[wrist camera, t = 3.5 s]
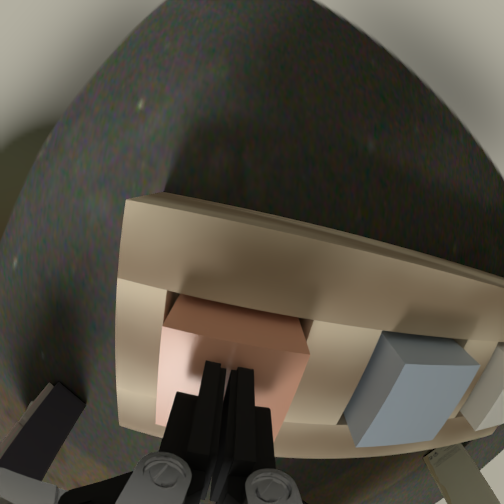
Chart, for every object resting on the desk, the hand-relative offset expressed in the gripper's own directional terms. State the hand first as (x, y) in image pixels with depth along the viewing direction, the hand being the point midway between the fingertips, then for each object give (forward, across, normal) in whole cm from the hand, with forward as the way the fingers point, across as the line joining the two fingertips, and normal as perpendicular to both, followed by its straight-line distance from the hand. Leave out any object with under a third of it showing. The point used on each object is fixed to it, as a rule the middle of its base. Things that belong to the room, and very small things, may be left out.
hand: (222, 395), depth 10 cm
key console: (+7, -9, 0) cm, 12 cm away
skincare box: (+7, -26, +14) cm, 31 cm away
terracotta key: (+3, 0, 0) cm, 3 cm away
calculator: (+7, +14, +15) cm, 22 cm away
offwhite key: (+3, -18, 0) cm, 18 cm away
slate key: (+3, -9, 0) cm, 10 cm away
